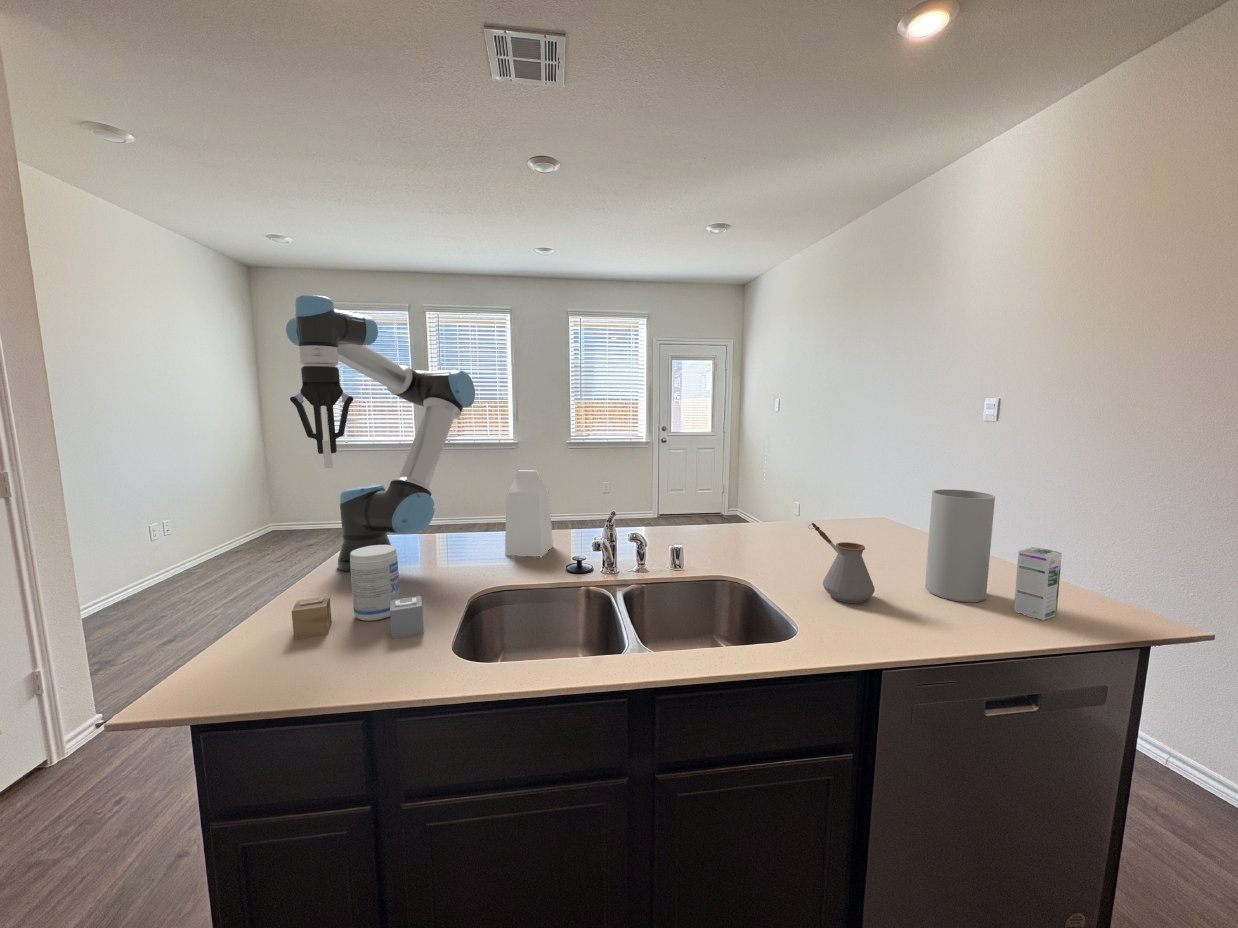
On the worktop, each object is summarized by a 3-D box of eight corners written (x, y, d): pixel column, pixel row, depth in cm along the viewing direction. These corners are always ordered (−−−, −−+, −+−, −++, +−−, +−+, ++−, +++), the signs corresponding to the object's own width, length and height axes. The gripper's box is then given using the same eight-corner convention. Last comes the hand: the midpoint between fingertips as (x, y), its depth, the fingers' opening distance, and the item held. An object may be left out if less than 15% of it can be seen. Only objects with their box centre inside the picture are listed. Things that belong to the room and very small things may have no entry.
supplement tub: (404, 615, 112) (400, 551, 110) (356, 626, 106) (352, 559, 105) (396, 601, 120) (392, 541, 118) (351, 610, 114) (347, 548, 113)
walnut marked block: (299, 627, 106) (296, 598, 105) (331, 622, 108) (329, 594, 108) (294, 639, 101) (291, 609, 100) (328, 633, 103) (325, 604, 102)
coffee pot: (885, 604, 117) (889, 541, 115) (842, 608, 114) (846, 545, 113) (827, 574, 138) (830, 520, 136) (790, 577, 135) (792, 523, 133)
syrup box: (1044, 621, 107) (1050, 556, 106) (1012, 611, 113) (1018, 549, 111) (1056, 616, 110) (1063, 552, 108) (1025, 606, 115) (1031, 545, 114)
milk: (505, 555, 156) (502, 472, 152) (518, 545, 167) (516, 467, 164) (542, 557, 154) (540, 473, 150) (553, 546, 165) (551, 468, 162)
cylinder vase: (995, 596, 121) (1005, 495, 118) (970, 607, 115) (979, 500, 112) (941, 581, 132) (948, 487, 129) (914, 590, 126) (921, 492, 122)
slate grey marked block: (392, 627, 106) (390, 598, 105) (422, 622, 108) (420, 594, 108) (391, 639, 101) (390, 609, 100) (423, 633, 103) (422, 604, 102)
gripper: (283, 364, 109) (294, 471, 112) (351, 365, 115) (359, 467, 118) (288, 366, 116) (298, 467, 119) (352, 367, 121) (359, 463, 125)
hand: (328, 467), depth 118 cm, fingers closed
